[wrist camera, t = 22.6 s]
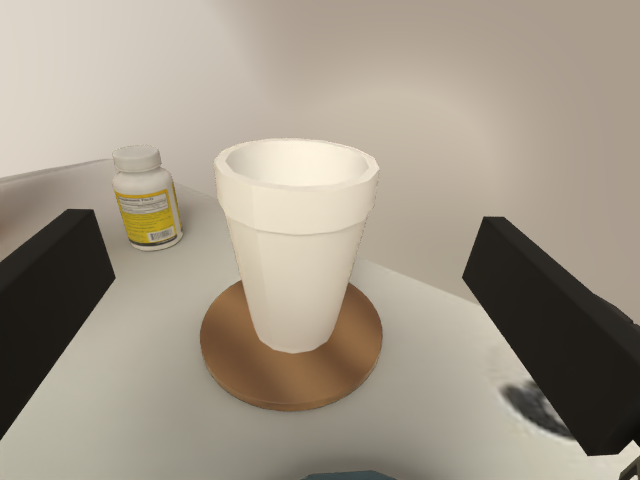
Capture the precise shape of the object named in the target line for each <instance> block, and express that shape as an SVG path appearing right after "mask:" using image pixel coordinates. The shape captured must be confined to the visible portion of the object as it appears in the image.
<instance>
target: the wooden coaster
mask: <svg viewBox="0 0 640 480" xmlns="http://www.w3.org/2000/svg"><path fill="white" fill-rule="evenodd" d="M382 338H383V336H382V326H381V321H380V318H379V316H378V313H377V311H376V309H375V308H374V306H373V304H372V303H371V302H370V300H369V299H368V298H367V297H366V296H365V295H364V294H363V293H362V292H361V291H360V290H358V289H357V288H356V287H355V286H353V285H352V284H350V283H348V285H347V288H346V292H345V295H344V298H343V302H342V305H341V309H340V312H339V315H338V319H337V322H336V324H335V328H334V330H333V332H332V334H331V335H330V337H329V339H328V341H327V342H325V343H324V344H322V345H320V346H319V347H317V348H316V349H314V350H312V351H306V352H300V353H294V354H292V353H287V352H282V351H277V350H273V349H272V348H271V347H269V346H268V345H266V344H265V343H263V342H262V341H261V340H260V339H259V337H258V335H257V333H256V331H255V328H254V324H253V322H252V319H251V315H250V311H249V307H248V303H247V299H246V295H245V291H244V287H243V283H242V280H241V281H238V282H237V283H235V284H234V285H232V286H230V287H229V288H228V289H226V290H225V291H224V292H223V293H221V294H220V295H219V296H218V297H217V298H216V300H215V301H214V302H213V303H212V305H211V306H210V307H209V309H208V311H207V313H206V314H205V317H204V319H203V322H202V326H201V331H200V344H201V350H202V356H203V359H204V362H205V365H206V367H207V369H208V370H209V372H210V374H211V376H212V377H213V378H214V379H215V380H216V382H217V383H218V384H219V385H220V386H221V387H222V388H224V389H225V390H226V391H227V392H228V393H230V394H232V395H233V396H235V397H236V398H238V399H240V400H242V401H244V402H247V403H249V404H251V405H254V406H258V407H261V408H265V409H271V410H278V411H300V410H309V409H313V408H318V407H322V406H325V405H328V404H330V403H333V402H336V401H338V400H339V399H341V398H343V397H345V396H347V395H348V394H350V393H351V392H353V391H354V390H355V389H357V388H358V387H359V386H360V385H361V384H362V383H363V382H364V381H365V380H366V379H367V378H368V376H369V375H370V373H371V372H372V371H373V369H374V367H375V365H376V363H377V361H378V357H379V354H380V351H381V346H382Z"/></svg>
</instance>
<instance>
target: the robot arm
mask: <svg viewBox="0 0 640 480" xmlns="http://www.w3.org/2000/svg"><path fill="white" fill-rule="evenodd" d="M115 278H116V277H115V274H114V271H113V268H112V265H111V262H110V259H109V256H108V253H107V250H106V247H105V244H104V241H103V238H102V235H101V232H100V229H99V226H98V223H97V219H96V216H95V213H94V210H93V209H67V210H66V211H64V212H63V213H62V214H61V215H59V216H58V217H57V218H56V219H54V220H53V221H52V222H50V223H49V224H48V225H47V226H45V227H44V228H43V229H42V230H40V231H39V232H38V233H37V234H35V235H34V236H33V237H32V238H30V239H29V240H28V241H26V242H25V243H24V244H23V245H21V246H20V247H19V248H18V249H16V250H15V251H14V252H13V253H11V254H10V255H9V256H8V257H6V258H5V259H4V260H2V261H1V262H0V440H1V439H2V437H3V436H4V435H5V433H6V432H7V430H8V429H9V428H10V426H11V425H12V423H13V422H14V421H15V419H16V418H17V416H18V415H19V414H20V412H21V411H22V409H23V408H24V407H25V405H26V404H27V402H28V401H29V399H30V398H31V397H32V395H33V394H34V392H35V391H36V390H37V388H38V387H39V385H40V384H41V383H42V381H43V380H44V378H45V377H46V376H47V374H48V373H49V371H50V370H51V368H52V367H53V366H54V364H55V363H56V361H57V360H58V359H59V357H60V356H61V354H62V353H63V352H64V350H65V349H66V347H67V346H68V345H69V343H70V342H71V340H72V339H73V337H74V336H75V335H76V333H77V332H78V330H79V329H80V328H81V326H82V325H83V323H84V322H85V321H86V319H87V318H88V316H89V315H90V314H91V312H92V311H93V309H94V308H95V307H96V305H97V304H98V302H99V301H100V299H101V298H102V297H103V295H104V294H105V292H106V291H107V290H108V288H109V287H110V285H111V284H112V283H113V281H114V280H115ZM462 278H463V280H464V281H465V283H466V284H467V286H468V287H469V288H470V290H471V291H472V293H473V294H474V296H475V297H476V298H477V300H478V301H479V303H480V304H481V305H482V307H483V308H484V310H485V311H486V313H487V314H488V315H489V317H490V318H491V320H492V321H493V322H494V324H495V325H496V327H497V328H498V330H499V331H500V332H501V334H502V335H503V337H504V338H505V339H506V341H507V342H508V344H509V345H510V347H511V348H512V349H513V351H514V352H515V354H516V355H517V356H518V358H519V359H520V361H521V362H522V364H523V365H524V366H525V368H526V369H527V371H528V372H529V374H530V375H531V376H532V378H533V379H534V381H535V382H536V383H537V385H538V386H539V388H540V389H541V391H542V392H543V393H544V395H545V396H546V398H547V399H548V400H549V402H550V403H551V405H552V406H553V408H554V409H555V410H556V412H557V413H558V415H559V416H560V417H561V419H562V420H563V422H564V423H565V425H566V426H567V427H568V429H569V430H570V432H571V433H572V434H573V436H574V437H575V439H576V440H577V442H578V443H579V444H580V446H581V447H582V449H583V450H584V452H585V453H586V454H587V456H599V455H616V454H619V453H620V452H621V451H622V450H623V449H624V448H625V447H626V446H627V445H628V444H629V443H630V442H631V441H632V440H634V441H635V443H636V444H637V445H638V446H639V447H640V326H639V325H637V324H634V323H633V320H631V319H630V318H629V317H628V316H627V315H625V314H624V313H623V312H622V311H621V310H619V309H618V308H617V307H616V306H614V305H612V304H611V303H609V302H607V301H605V300H604V299H602V298H600V297H599V296H597V295H595V294H593V293H592V292H591V291H590V290H589V289H588V288H586V287H585V286H584V285H583V284H582V283H581V282H579V281H578V280H577V279H576V278H575V277H574V276H572V275H571V274H570V273H569V272H568V271H567V270H565V269H564V268H563V267H562V266H561V265H560V264H558V263H557V262H556V261H555V260H554V259H553V258H551V257H550V256H549V255H548V254H547V253H546V252H544V251H543V250H542V249H541V248H540V247H539V246H537V245H536V244H535V243H534V242H533V241H532V240H530V239H529V238H528V237H527V236H526V235H525V234H523V233H522V232H521V231H520V230H519V229H518V228H516V227H515V226H514V225H513V224H512V223H511V222H509V221H508V220H507V219H506V218H505V217H483V220H482V223H481V226H480V228H479V231H478V234H477V237H476V240H475V243H474V245H473V248H472V251H471V254H470V257H469V259H468V262H467V265H466V268H465V270H464V273H463V276H462ZM634 475H638V480H640V456H639V457H638V458H636V459H635V460H634V461H633V462H632V463H631V464H630V465H629V466H628V467H627V468H626V469H624V470H623V471H622V472H621V473H620V477H619V480H630V479H631V478H632V477H633V476H634Z"/></svg>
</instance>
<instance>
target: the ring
mask: <svg viewBox="0 0 640 480" xmlns="http://www.w3.org/2000/svg"><path fill="white" fill-rule="evenodd" d="M301 480H397V479H394V478H392V477H389V476H386V475H384V474H381V473H378V472H376V471H357V472H339V473H322V474H311V475H308V476H306V477H304V478H303V479H301Z"/></svg>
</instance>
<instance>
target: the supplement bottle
mask: <svg viewBox="0 0 640 480" xmlns="http://www.w3.org/2000/svg"><path fill="white" fill-rule="evenodd" d="M112 155H113V159H114V163H115V166H116V169H117V170H119V171H120V172H119V173H118V174H116V175H115V177H114V178H113V181H112V184H113V189H114V192H115V195H116V199H117V202H118V205H119V208H120V212H121V215H122V219H123V222H124V225H125V228H126V232H127V235H128V238H129V241H130V243H131V245H132V246H133V247H135V248H137V249H140V250H145V251H154V250H161V249H165V248H168V247H170V246H172V245H174V244H176V243H177V242H178V241H179V240H180V239H181V238H182V236H183V229H182V223H181V219H180V213H179V209H178V203H177V198H176V194H175V188H174V183H173V179H172V176H171V174H170V173H169V172H168V171H167V170H165V169H163V168H161V167H160V165H161V158H160V153H159V150H158V149H157V148H156V147H152V146H130V147H124V148H120V149H117V150H115V151H114V152H113V153H112Z"/></svg>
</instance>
